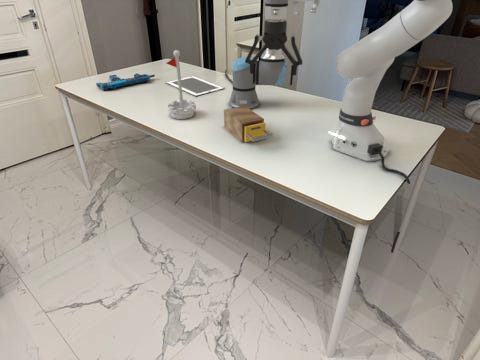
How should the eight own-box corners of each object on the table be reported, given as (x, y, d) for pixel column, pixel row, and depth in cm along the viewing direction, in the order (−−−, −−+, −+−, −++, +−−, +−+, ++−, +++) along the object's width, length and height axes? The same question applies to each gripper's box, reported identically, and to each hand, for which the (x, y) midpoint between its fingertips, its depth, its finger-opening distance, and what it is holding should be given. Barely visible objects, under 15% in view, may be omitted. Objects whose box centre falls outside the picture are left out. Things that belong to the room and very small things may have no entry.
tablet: (166, 82, 208) (166, 82, 207) (193, 76, 219) (193, 76, 219) (195, 96, 187) (195, 95, 187) (224, 88, 198) (224, 87, 198)
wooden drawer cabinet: (263, 137, 145) (264, 118, 140) (241, 142, 141) (241, 123, 136) (244, 122, 157) (244, 105, 153) (224, 127, 153) (223, 109, 149)
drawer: (272, 143, 138) (273, 128, 134) (252, 148, 134) (253, 133, 131) (247, 123, 154) (247, 110, 150) (228, 127, 150) (228, 114, 147)
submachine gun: (140, 68, 225) (159, 74, 209) (141, 73, 227) (159, 80, 211) (88, 78, 207) (104, 85, 190) (90, 84, 209) (106, 92, 192)
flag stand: (192, 108, 172) (187, 46, 156) (199, 117, 162) (194, 52, 146) (166, 111, 169) (158, 48, 152) (172, 121, 158) (164, 54, 142)
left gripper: (237, 21, 112) (237, 84, 123) (314, 22, 108) (307, 87, 120) (240, 17, 118) (240, 78, 129) (313, 19, 115) (306, 81, 126)
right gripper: (294, -27, 119) (291, 16, 127) (333, -28, 129) (328, 12, 137) (282, -27, 123) (280, 15, 131) (321, -28, 134) (316, 10, 141)
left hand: (272, 83), depth 125 cm, fingers open, 13 cm apart
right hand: (305, 13), depth 134 cm, fingers open, 8 cm apart
